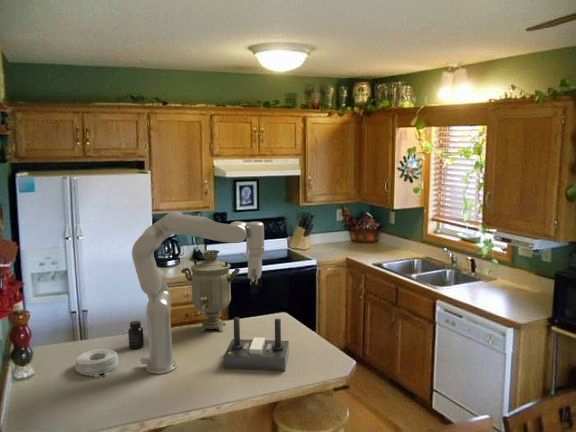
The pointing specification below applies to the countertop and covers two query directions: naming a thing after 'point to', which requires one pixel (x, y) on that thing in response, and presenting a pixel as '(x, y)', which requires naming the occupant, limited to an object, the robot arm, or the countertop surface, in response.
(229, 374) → the countertop surface
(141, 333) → the supplement bottle
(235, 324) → the dark grey upright post
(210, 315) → the samovar
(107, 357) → the cable
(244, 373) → the countertop surface
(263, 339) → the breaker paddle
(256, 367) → the gray switch control box
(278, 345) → the black toggle lever
